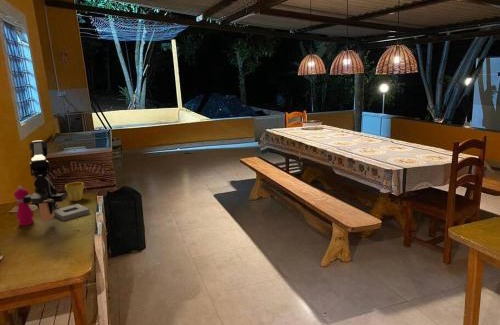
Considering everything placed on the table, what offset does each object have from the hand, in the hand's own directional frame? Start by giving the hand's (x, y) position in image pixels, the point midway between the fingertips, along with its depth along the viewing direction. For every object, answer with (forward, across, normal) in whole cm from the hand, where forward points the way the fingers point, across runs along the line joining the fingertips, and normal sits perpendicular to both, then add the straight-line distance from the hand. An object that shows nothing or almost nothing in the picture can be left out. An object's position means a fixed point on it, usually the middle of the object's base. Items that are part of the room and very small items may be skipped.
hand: (47, 214), depth 180 cm
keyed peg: (+2, 0, 0) cm, 2 cm away
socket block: (+6, +4, +16) cm, 18 cm away
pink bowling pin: (+6, -14, +5) cm, 16 cm away
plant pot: (+6, -4, +42) cm, 43 cm away
